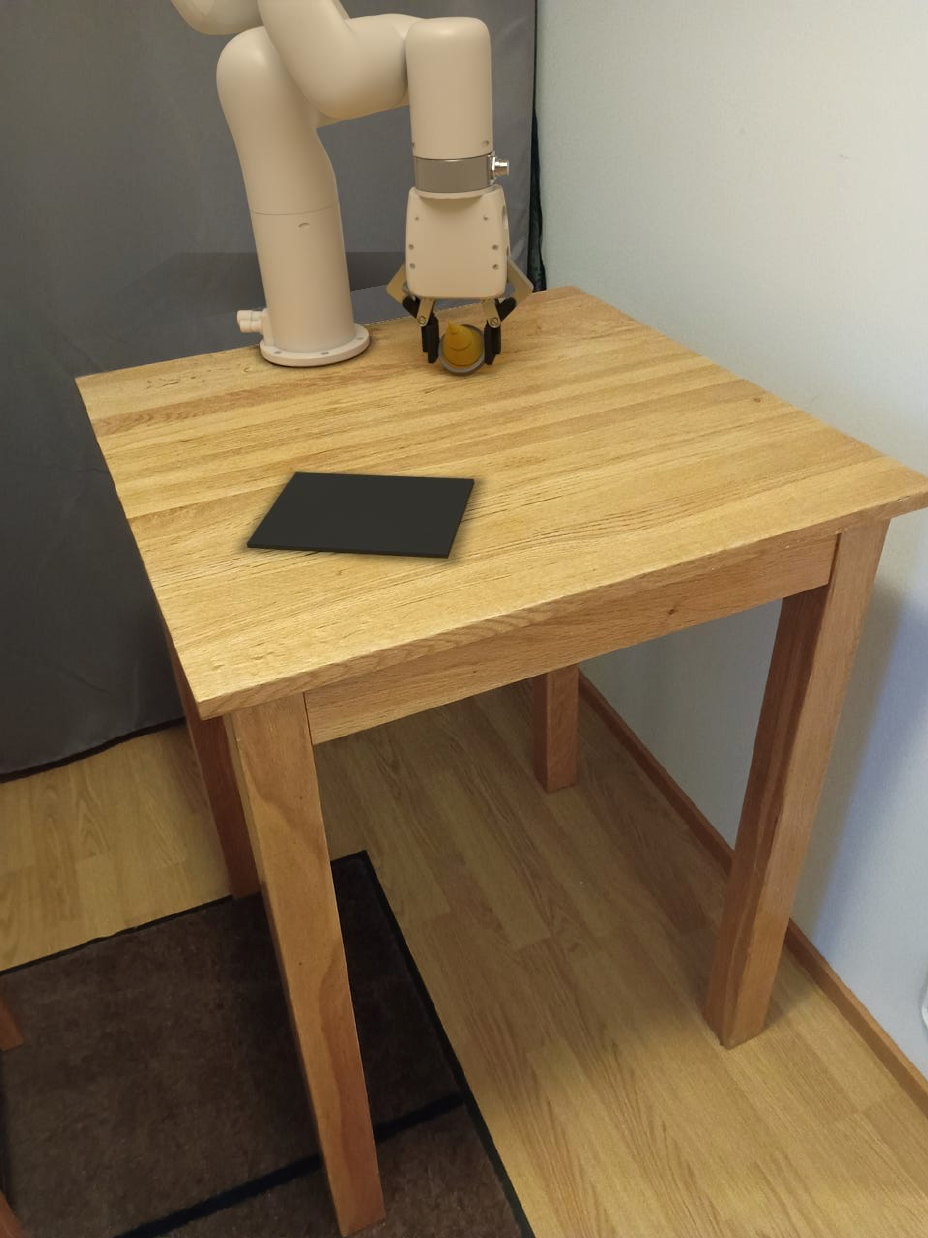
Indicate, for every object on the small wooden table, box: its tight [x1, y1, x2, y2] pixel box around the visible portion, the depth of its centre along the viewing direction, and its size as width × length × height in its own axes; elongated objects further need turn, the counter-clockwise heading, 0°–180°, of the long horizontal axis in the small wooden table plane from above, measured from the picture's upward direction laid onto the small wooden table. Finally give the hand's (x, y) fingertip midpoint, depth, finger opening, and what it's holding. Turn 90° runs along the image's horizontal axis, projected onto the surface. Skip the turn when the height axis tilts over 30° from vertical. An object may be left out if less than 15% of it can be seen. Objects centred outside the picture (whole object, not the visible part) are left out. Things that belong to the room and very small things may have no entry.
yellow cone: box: [438, 322, 486, 377], centre depth 97 cm, size 5×5×10 cm
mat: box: [246, 471, 475, 559], centre depth 76 cm, size 16×12×1 cm
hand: (462, 357), depth 98 cm, fingers closed on yellow cone, 5 cm apart
